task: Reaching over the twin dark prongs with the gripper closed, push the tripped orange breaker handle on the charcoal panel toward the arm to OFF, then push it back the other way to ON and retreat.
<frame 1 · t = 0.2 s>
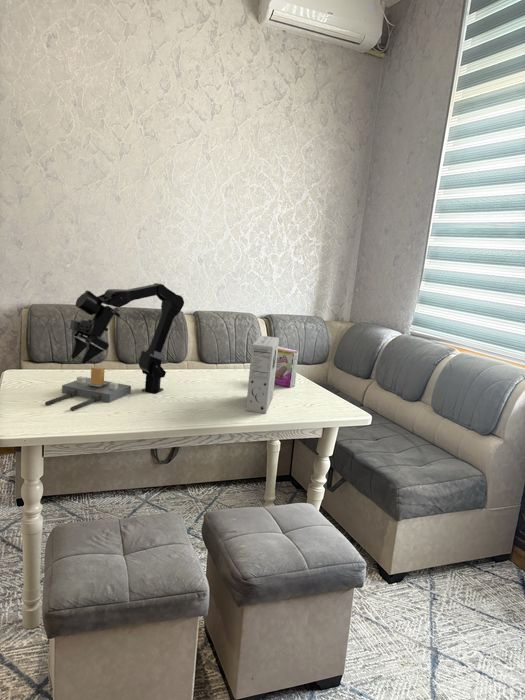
hand: (77, 360, 175), 15 cm above the table, tool tilted 30°, fingers open, 9 cm apart
candy bar box: (281, 385, 228), on the table
twin dark prongs: (73, 402, 176), on the table
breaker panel: (96, 393, 190), on the table
cereal box: (259, 404, 196), on the table
breaker handle: (97, 376, 188), point 7 cm above the table, slide at 0.0 cm
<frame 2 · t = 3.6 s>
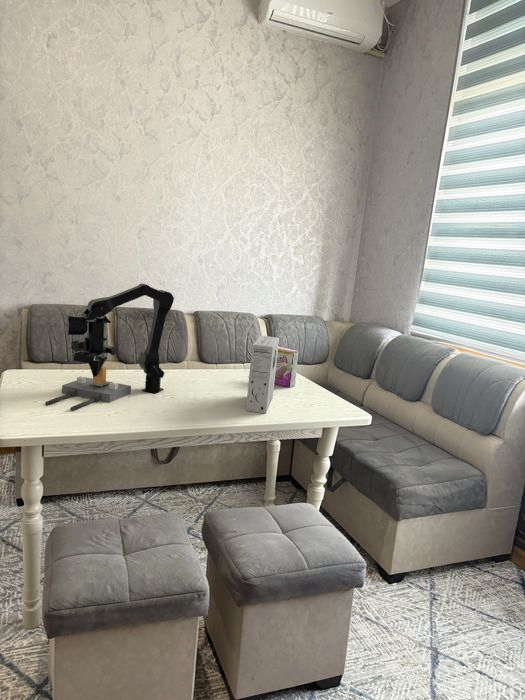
hand: (94, 376, 186), 7 cm above the table, tool pointing down, fingers closed
breaker handle: (99, 375, 189), point 7 cm above the table, slide at -1.2 cm, touching gripper
everything else where it was.
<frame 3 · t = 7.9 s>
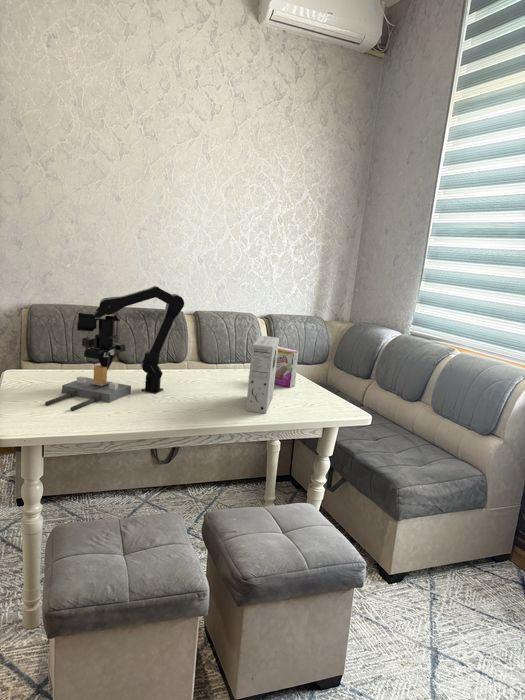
hand: (104, 372, 193), 7 cm above the table, tool pointing down, fingers closed
breaker handle: (100, 375, 190), point 7 cm above the table, slide at -1.7 cm, touching gripper
everything else where it was.
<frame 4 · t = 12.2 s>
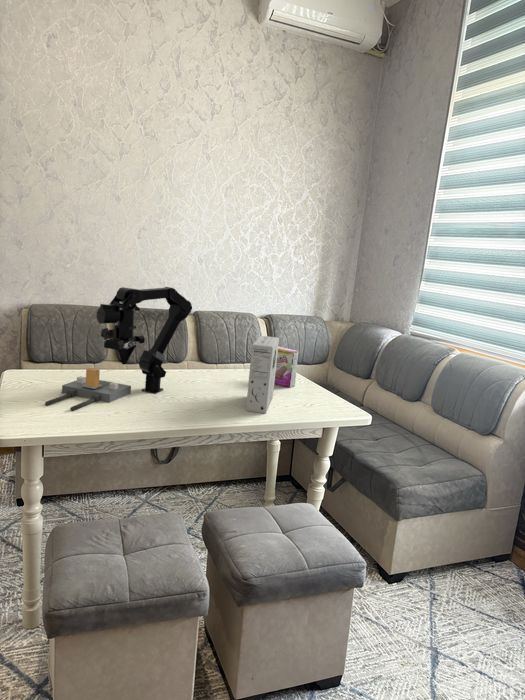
hand: (123, 364, 188), 12 cm above the table, tool pointing down, fingers closed
breaker handle: (92, 377, 185), point 7 cm above the table, slide at 3.0 cm
everything else where it was.
at the end: breaker handle slide at 3.0 cm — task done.
